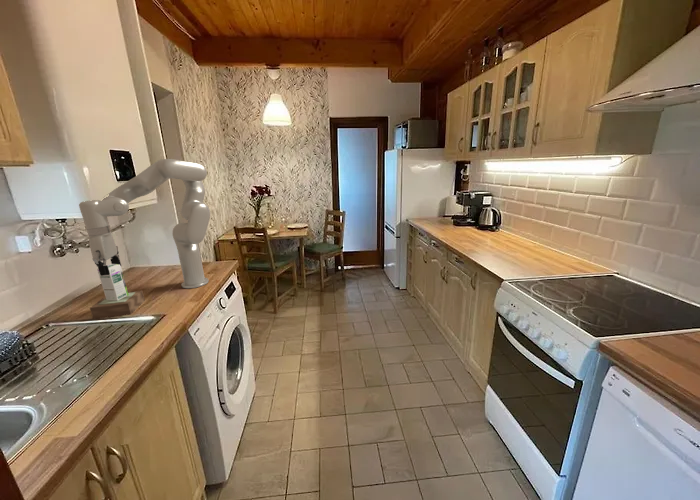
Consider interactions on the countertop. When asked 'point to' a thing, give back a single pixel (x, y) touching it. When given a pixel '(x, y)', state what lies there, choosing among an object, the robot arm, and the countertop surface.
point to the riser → (117, 306)
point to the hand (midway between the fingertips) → (111, 271)
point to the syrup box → (114, 283)
